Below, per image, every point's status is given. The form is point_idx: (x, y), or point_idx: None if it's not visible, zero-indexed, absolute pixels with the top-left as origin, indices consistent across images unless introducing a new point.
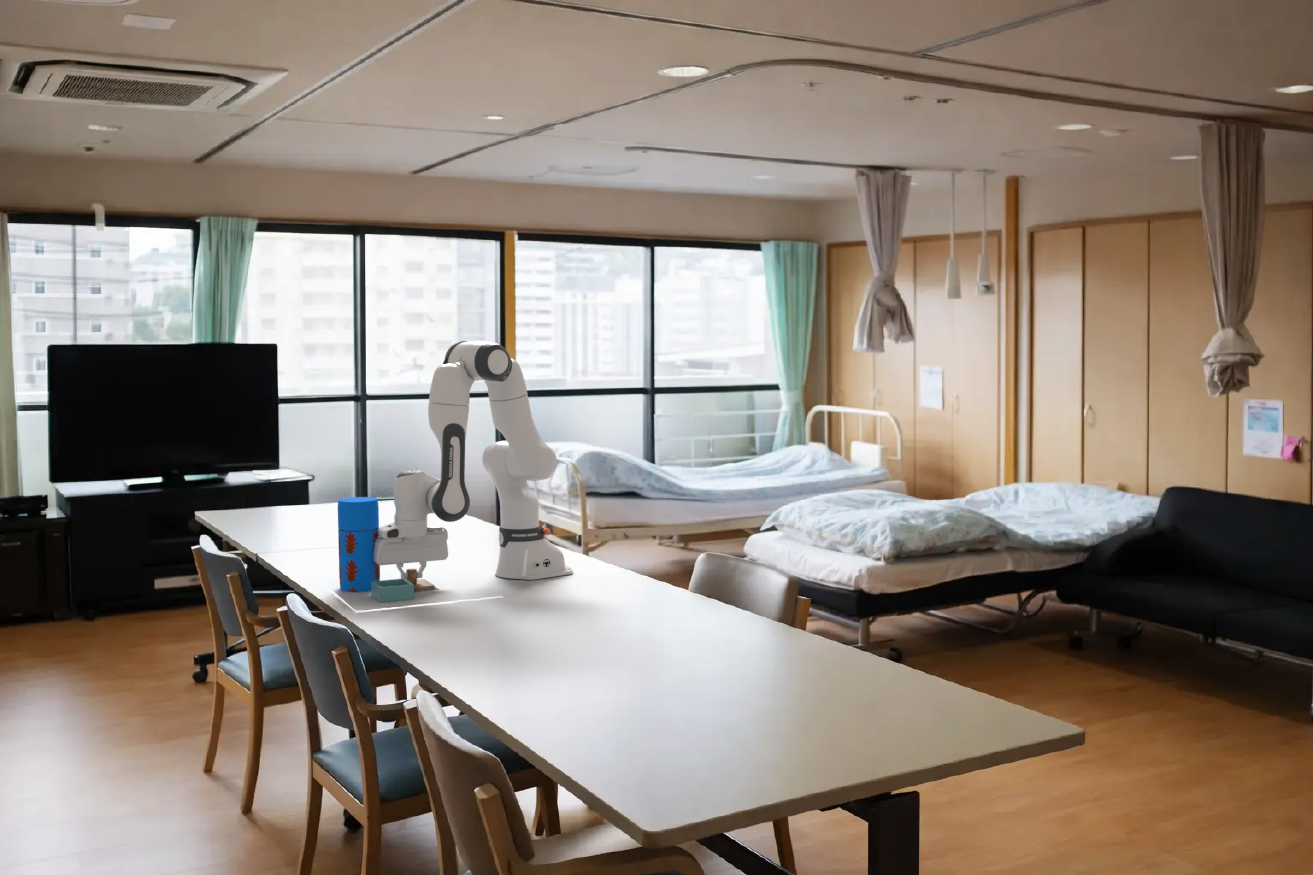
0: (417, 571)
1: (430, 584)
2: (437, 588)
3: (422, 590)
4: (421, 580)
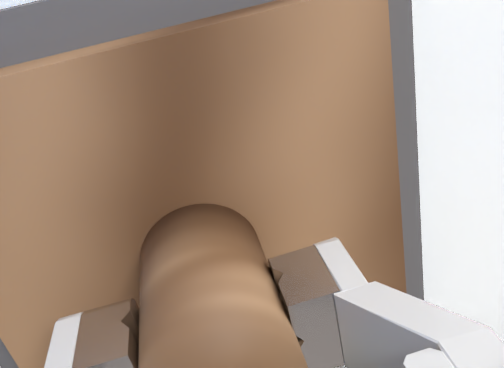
0: (311, 335)
1: None
2: (420, 298)
3: None
4: (333, 84)
